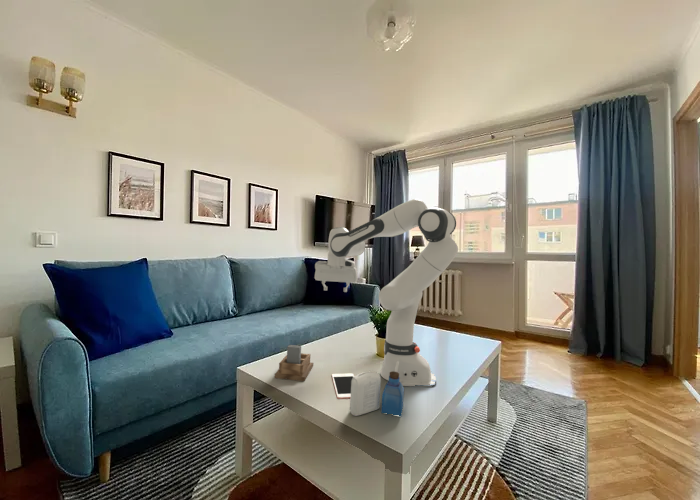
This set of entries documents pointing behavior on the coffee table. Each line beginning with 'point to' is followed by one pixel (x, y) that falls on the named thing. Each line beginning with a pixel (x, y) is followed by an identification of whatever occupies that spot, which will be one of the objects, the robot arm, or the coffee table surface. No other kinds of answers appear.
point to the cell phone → (342, 385)
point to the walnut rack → (295, 369)
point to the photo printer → (365, 393)
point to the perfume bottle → (393, 395)
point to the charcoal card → (294, 354)
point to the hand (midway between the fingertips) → (335, 291)
